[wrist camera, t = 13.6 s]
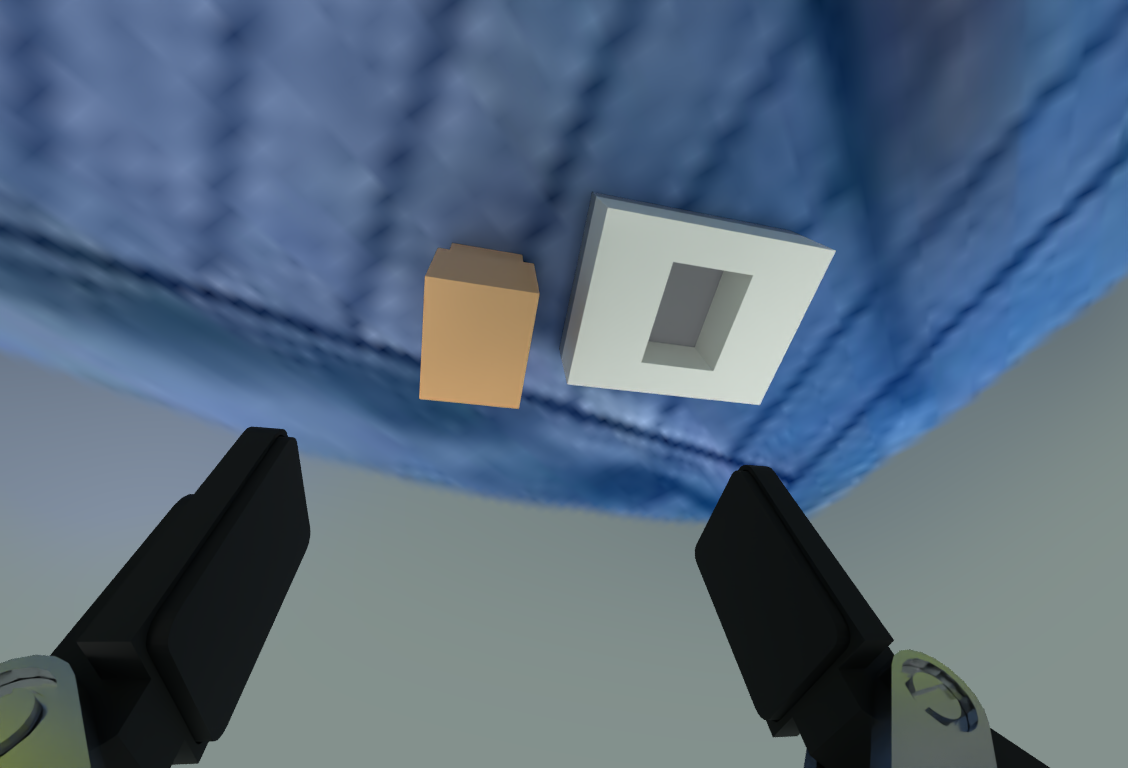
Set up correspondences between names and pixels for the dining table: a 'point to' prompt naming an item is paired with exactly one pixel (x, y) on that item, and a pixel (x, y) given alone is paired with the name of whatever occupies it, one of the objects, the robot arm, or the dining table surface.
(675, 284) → the socket block
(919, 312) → the dining table surface
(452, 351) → the plug
